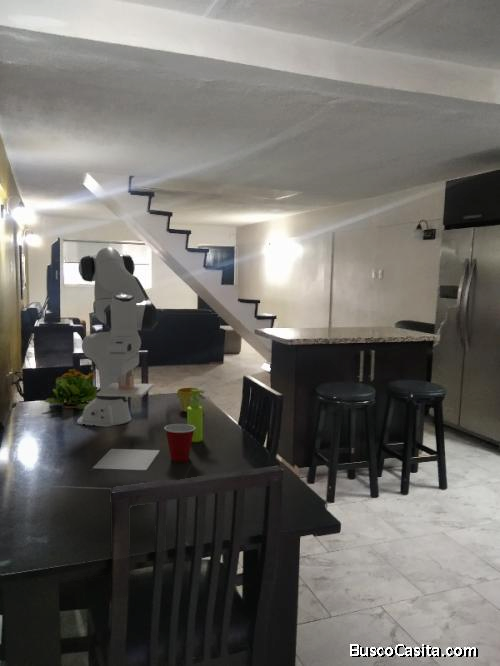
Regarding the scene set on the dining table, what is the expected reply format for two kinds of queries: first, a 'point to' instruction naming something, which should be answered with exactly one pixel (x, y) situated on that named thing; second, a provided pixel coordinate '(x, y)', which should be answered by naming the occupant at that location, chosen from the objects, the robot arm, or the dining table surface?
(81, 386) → the potted flower
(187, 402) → the plant pot
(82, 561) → the dining table surface
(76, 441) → the dining table surface
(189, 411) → the soap dispenser
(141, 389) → the lid
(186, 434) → the plastic cup
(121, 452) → the mat
